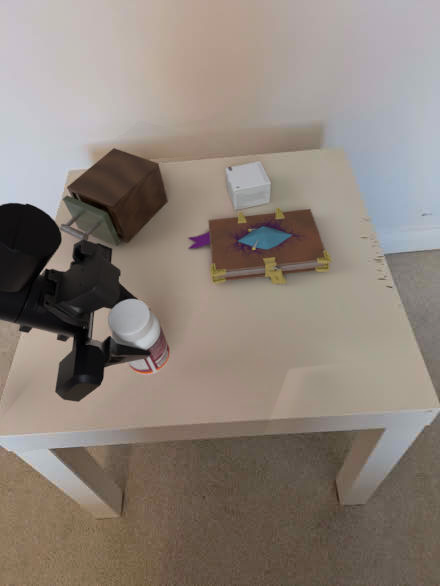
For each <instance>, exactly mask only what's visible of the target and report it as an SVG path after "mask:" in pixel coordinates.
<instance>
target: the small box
mask: <svg viewBox="0 0 440 586" xmlns="http://www.w3.org/2000/svg"><path fill="white" fill-rule="evenodd" d="M224 171H225V185H226V186H225V187H226V190H227V193H228V196H229V198H230V201H231V204H232V206H233V207H232V208H233V209H234V211H238V210H244V209H248V208H253V207H256V206H262V205H268V204H270V203H271V190H272V189H271V188H272V187H271V186H272V182H271V180H270V178H269V176H268V174H267V172H266V169H265V168H264V166H263V163H262V162H261V160H259V161H253V162H249V163H244V164H239V165H234V166H228V167H225V170H224Z"/></svg>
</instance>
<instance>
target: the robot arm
mask: <svg viewBox="0 0 440 586" xmlns="http://www.w3.org/2000/svg"><path fill="white" fill-rule="evenodd" d="M62 239H63V238H62V231H61V230H60V226H59V225H58V224H57V222H56V221H55V220H54V218H52V216H50V214H49V213H47V212H45V211H44V210H43V209H41V208H40V207H37V206H35V205H33V204H31V203H25V204H24V203H19V202H7V203H2V204H0V321H3V322H7V323H10V324H11V323H12V324H15V325H19V327H18V332H21V333H26V334H29V333H30V332H31V330H32V329H36V330H39V331H40V330H41V331H44V332H47V333H51V334H52V333H53V334H56V335H57V336H56V340H57V341H60V342H65V343H66V342H67V341H68V340H70V338H73V339H72V346H71V348H72V349H71V351H70V352H69V353H68V354H66V356H65V357H63V358H62V360H61V361H59V363H58V369H57V370H58V371H57V375H56V384H55V391H54V392H55V394H57V395H58V396H59V397H60V398H61V399H62V400H63V401H69V402H77V403H79V402H81V401H82V400H83V399H85V398H86V397H87V396H89V395H90V394H91V393H92V392H94V391H95V390H96V389H97V388H100V386H101V385H102V383H103V381H104V377H105V368H108V367H111V366H115V365H116V366H117V365H120V364H124V363H125V364H126V363H127V362H131V361H136V360H141V359H146V358H148V357H149V356H151V352H149V351H146V350H143V349H140V348H135V347H131V346H127V345H122V344H118V343H116V342H115V341H114V340H113V337H112V335H109V336H107V337H106V338H105V339H104V340H102V341H100V340H97V339H93V330H94V320H95V319H94V318H95V312H97V311H99V310H101V309H103V308H104V309H109V310H112V308H113V307H114V306H115V305H116V304H118V303H119V302H121V301H124V300H127V299H138V298H137V297H136V296H135V295H134V294H132V293H131V292H130V291H129V290H128V289H127V288H126V287H125V286H124V285H123V284H122V283H121V282H120V277H121V274H122V272H121V269H120V268H119V267H118V266H116V265H115V264H113V263H112V257H113V248H112V247H109V246H107V245H104V244H102V243H99V242H97V243H95V242H92V241H89V240H87V241H86V240H79V241H77V242H75V243H74V244H73V249H72V255H71V257H72V261H70V264H69V268H68V269H67V270H63V271H62V270H58V269H55V268H50V269H49V268H46V266H47V265H48V263H49V262H50V261H51V259H52V258H53V257H54V255H55V254H56V252H57V251H58V250H59V248H60V247H61V245H62ZM148 308H149V310H150V311H151V308H150V307H148Z"/></svg>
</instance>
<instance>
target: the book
mask: <svg viewBox="0 0 440 586" xmlns="http://www.w3.org/2000/svg"><path fill="white" fill-rule="evenodd" d="M207 222H208V232H206V233H203V234H200V235H197V236H191V237H189V236H188V237H187V239H189V240H190V241H192V242H194V243H192V245H190V246H189V247H188V248H187V249H188V250H189V249H198V248H201V247H204V246H207V245H209V246H210V255H211V264H210V269H209V273H210V277H211V283H212V284H214V285H215V284H221V283H224V282H226V281H235V280H245V279H252V278H253V279H254V278H263V277H264V278H269V277H270V281H271V284H272V285H275V284H277V285H278V284H281V285H282V284H287V282H288V281H287V278H285V276H284V275H288V274H289V275H290V274H298V273H307V272H320V273H327V272H329V271H331V269H330V263H332V262H333V260H332V257H331V254H330V253H329V251H328V250H327V249H326V248H325V246H324V243H323V239H322V236H321V234H320V231H319V229H318V226H317V223H316V220H315V218H314V214H313V211H312V209H311V208H306V209H297V210H289V211H282V209H281V208H280V207H276V208H275V212H272V213H271V212H270V213H262V214H253V215H244V212H243V211H241V212H238V216H236V217H227V218H226V217H225V218H217V219H209V220H208V221H207Z"/></svg>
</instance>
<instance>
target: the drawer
mask: <svg viewBox="0 0 440 586" xmlns="http://www.w3.org/2000/svg"><path fill="white" fill-rule="evenodd" d="M75 194H76V193H75ZM76 196H77V198H78V200H77V199H74V198H72V197H71V195H70V196H69V195H65V196H64V197H63V198H62V201H63V203H64V204H65V206H66V208H67V210H68V212H69V214H70V215H71V218H70V219H69V220H68V221H66V223H61V224H60V225H59V229H60V232H63V233H65V234H67V235H70V236H71V237H74V238H75V239H78V240H79V241H81V240H86V241H89V238H90V237H89V236H91V235H92V236H93V237H96V238H98V239H99V240H102V241H104V242H106V243H108V244H111V245H113V246H114V247H118V246H119V245H120V244H121V240H120V239H119V238H118V235H117V234H119V235H122V234H121V232H120V229H119V227H118V225H117V222H116V220H115V218H114V215H113V213H112V210H111V208H109V207H106V206H104V205H102V204H99V203H97V202H95V201H92V200H90V199H88V198H85V197H83V196H80V195H78V194H76ZM74 223H75V225H76V226H77V228H78V229H76V228H74V227H72V225H73V224H74Z"/></svg>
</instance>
